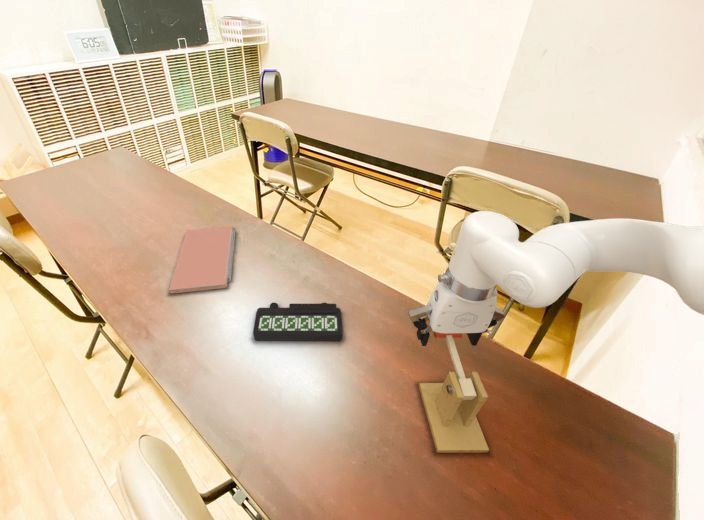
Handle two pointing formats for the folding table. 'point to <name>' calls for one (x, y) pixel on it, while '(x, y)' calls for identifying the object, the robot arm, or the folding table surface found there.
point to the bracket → (454, 415)
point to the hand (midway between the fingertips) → (446, 339)
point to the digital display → (298, 323)
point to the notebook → (204, 260)
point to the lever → (458, 365)
